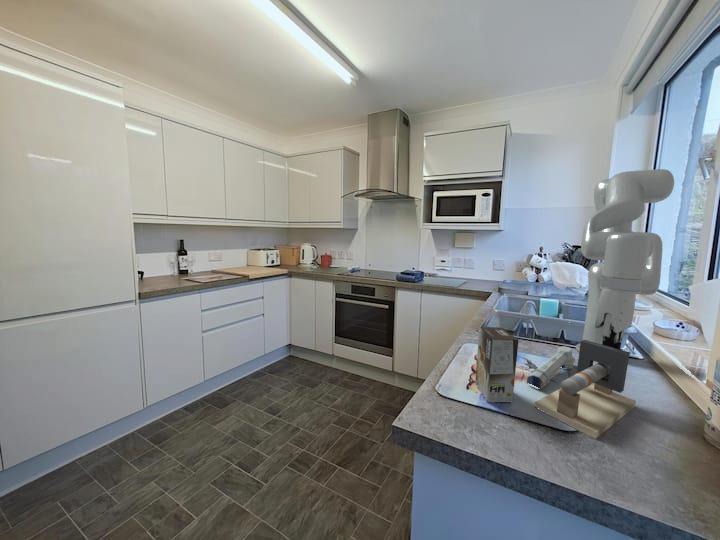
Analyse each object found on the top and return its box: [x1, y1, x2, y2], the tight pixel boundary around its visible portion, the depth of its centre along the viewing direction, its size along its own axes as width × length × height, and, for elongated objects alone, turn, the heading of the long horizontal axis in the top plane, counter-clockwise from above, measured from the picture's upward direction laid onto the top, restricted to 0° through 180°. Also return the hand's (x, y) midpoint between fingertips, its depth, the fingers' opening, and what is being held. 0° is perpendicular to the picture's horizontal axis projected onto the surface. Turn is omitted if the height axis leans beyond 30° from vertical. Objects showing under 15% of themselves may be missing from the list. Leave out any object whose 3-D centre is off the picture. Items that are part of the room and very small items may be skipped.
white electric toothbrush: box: [526, 345, 576, 390], centre depth 86 cm, size 5×7×25 cm
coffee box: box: [474, 326, 519, 403], centre depth 74 cm, size 9×6×16 cm
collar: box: [576, 339, 631, 394], centre depth 72 cm, size 2×9×10 cm, turn 32°
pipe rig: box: [534, 362, 637, 440], centre depth 70 cm, size 22×12×10 cm, turn 122°
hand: (609, 355), depth 74 cm, fingers closed
